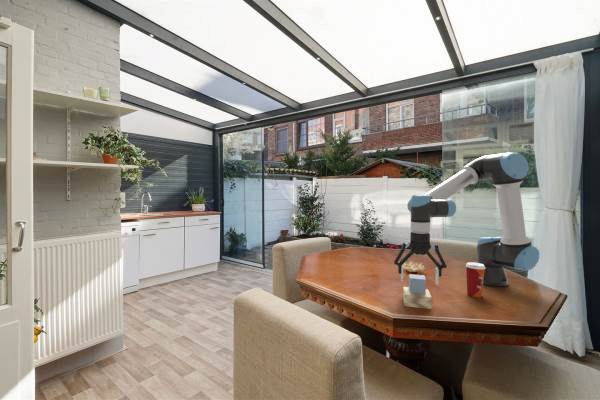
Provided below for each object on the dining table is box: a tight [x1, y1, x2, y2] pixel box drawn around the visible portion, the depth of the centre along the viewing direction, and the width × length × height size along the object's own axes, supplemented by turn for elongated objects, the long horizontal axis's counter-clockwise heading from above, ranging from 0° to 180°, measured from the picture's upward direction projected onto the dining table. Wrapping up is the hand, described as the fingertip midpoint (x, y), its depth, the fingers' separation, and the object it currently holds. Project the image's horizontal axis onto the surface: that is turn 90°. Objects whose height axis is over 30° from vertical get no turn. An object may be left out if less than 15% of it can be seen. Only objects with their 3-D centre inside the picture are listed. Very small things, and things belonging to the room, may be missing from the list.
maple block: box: [402, 286, 432, 310], centre depth 122 cm, size 10×10×5 cm
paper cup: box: [465, 261, 485, 298], centre depth 132 cm, size 8×8×14 cm
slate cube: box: [408, 273, 427, 294], centre depth 123 cm, size 6×6×6 cm
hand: (419, 282), depth 124 cm, fingers open, 13 cm apart
